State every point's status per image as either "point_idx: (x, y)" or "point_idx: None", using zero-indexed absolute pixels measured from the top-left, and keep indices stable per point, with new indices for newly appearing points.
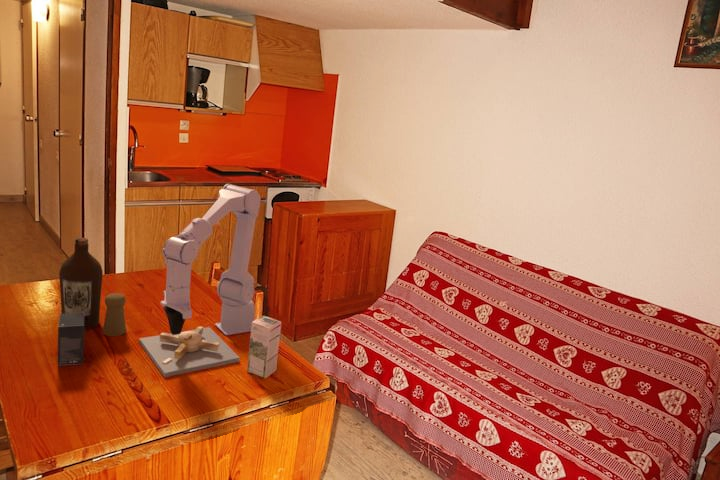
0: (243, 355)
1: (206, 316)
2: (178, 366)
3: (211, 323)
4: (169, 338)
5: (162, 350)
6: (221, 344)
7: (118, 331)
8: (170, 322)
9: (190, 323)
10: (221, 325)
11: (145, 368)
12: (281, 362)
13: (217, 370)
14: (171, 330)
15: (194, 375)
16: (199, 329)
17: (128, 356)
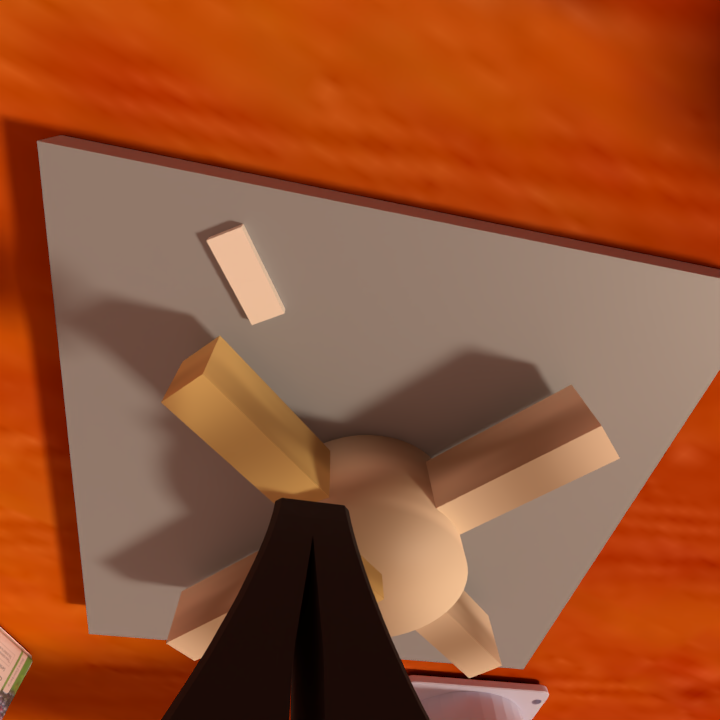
0: (161, 644)
1: (657, 691)
2: (119, 307)
3: (576, 679)
4: (502, 455)
5: (450, 338)
6: None
7: None
8: (264, 679)
9: (664, 619)
10: (486, 711)
11: (307, 72)
12: (15, 714)
13: (37, 488)
14: (278, 542)
15: (16, 349)
16: (455, 652)
17: (619, 54)
